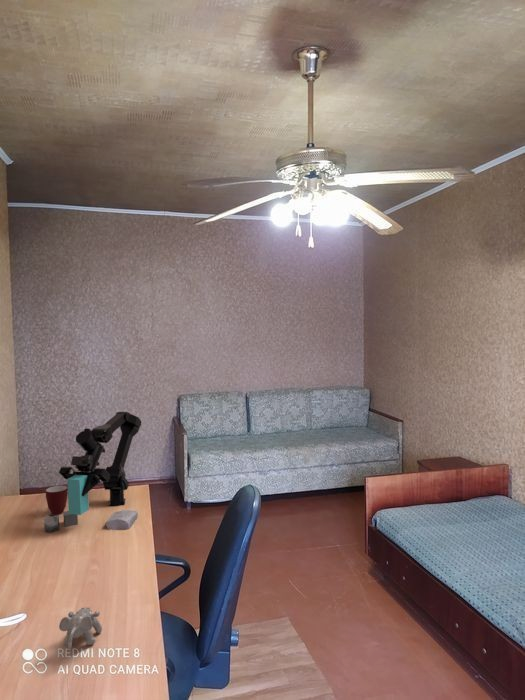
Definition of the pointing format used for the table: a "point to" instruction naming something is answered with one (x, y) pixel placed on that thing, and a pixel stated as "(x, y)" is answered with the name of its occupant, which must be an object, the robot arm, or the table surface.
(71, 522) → the rubber cube
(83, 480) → the teal block
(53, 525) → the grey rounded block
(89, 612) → the elephant statuette
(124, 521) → the stone block
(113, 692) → the table surface
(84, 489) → the robot arm
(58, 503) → the mug
